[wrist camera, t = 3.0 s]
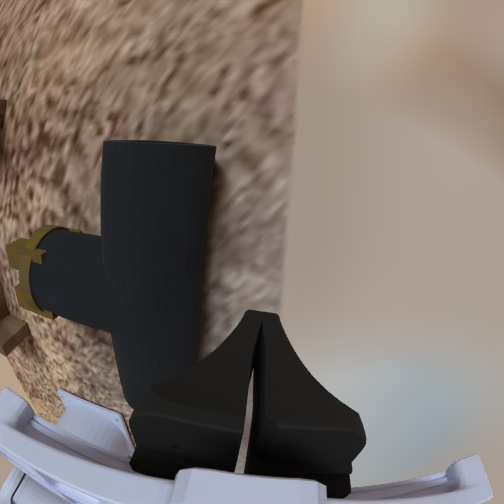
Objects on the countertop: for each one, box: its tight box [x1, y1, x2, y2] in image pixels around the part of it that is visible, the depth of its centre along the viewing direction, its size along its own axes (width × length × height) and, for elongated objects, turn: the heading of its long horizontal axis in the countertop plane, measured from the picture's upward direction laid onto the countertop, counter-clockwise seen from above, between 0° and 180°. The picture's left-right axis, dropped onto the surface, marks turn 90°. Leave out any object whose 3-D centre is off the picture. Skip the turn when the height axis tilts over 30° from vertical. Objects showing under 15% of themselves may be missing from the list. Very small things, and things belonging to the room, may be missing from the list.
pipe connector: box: [6, 140, 216, 409], centre depth 14 cm, size 12×5×15 cm
